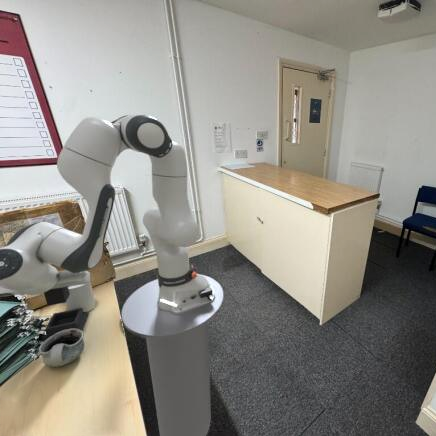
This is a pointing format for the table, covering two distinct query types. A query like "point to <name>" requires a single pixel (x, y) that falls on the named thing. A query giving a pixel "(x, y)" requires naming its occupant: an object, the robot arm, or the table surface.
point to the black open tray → (66, 322)
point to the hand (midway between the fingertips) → (56, 286)
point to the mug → (62, 347)
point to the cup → (80, 297)
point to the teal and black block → (56, 296)
